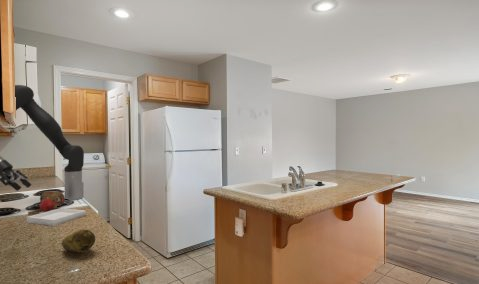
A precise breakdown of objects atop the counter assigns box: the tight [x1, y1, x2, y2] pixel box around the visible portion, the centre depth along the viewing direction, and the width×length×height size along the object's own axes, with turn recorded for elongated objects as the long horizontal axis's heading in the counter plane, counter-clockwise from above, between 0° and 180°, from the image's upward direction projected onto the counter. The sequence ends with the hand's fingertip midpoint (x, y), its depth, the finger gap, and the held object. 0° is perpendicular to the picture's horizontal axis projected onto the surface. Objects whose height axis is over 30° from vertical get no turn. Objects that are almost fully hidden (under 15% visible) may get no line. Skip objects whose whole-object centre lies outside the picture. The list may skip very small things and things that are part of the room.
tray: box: [26, 207, 87, 227], centre depth 121 cm, size 16×16×2 cm
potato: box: [61, 229, 96, 253], centre depth 85 cm, size 8×13×8 cm, turn 40°
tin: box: [39, 190, 65, 207], centre depth 146 cm, size 15×3×8 cm, turn 73°
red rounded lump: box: [39, 197, 54, 213], centre depth 132 cm, size 6×6×8 cm
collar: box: [27, 206, 60, 216], centre depth 132 cm, size 11×11×2 cm
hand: (24, 187), depth 130 cm, fingers open, 8 cm apart
